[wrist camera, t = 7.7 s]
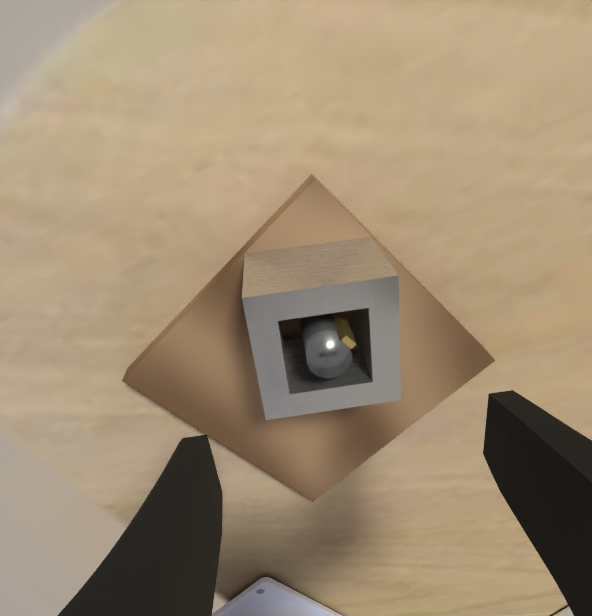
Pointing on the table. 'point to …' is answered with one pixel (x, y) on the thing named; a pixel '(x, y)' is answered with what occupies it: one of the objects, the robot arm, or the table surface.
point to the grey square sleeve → (316, 301)
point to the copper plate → (237, 347)
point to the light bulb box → (565, 612)
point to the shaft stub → (327, 343)
